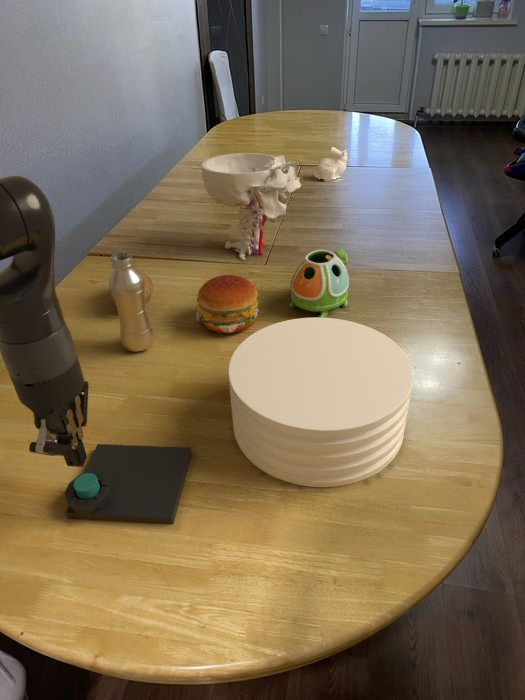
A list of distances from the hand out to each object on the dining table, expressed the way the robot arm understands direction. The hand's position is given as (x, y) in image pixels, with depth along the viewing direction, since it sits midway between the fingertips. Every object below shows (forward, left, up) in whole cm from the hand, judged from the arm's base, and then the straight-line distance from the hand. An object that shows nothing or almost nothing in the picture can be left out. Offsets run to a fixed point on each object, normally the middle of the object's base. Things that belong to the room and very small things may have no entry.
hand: (77, 462), depth 69 cm
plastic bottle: (-4, +38, -8) cm, 40 cm away
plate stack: (+32, +18, -9) cm, 38 cm away
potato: (-10, +55, -9) cm, 57 cm away
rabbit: (+38, +145, -9) cm, 151 cm away
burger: (+13, +48, -9) cm, 51 cm away
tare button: (0, 0, -6) cm, 6 cm away
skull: (+15, +86, -9) cm, 88 cm away
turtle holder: (+33, +57, -9) cm, 67 cm away
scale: (+5, +3, -8) cm, 10 cm away
